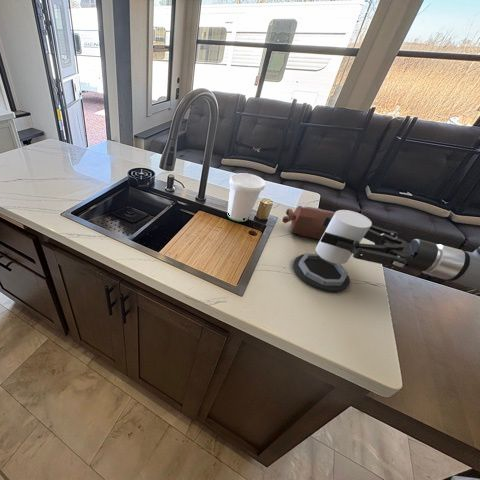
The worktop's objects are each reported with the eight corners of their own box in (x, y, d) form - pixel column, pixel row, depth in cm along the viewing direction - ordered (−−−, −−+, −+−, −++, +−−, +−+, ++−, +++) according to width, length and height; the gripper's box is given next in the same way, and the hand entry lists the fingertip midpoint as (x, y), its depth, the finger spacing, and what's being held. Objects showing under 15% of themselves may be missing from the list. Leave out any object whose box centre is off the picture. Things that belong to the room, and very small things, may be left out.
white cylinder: (354, 264, 68) (379, 228, 61) (324, 263, 68) (346, 226, 61) (337, 245, 75) (359, 210, 67) (310, 244, 75) (328, 209, 67)
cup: (216, 217, 99) (224, 181, 89) (229, 204, 107) (237, 170, 98) (247, 228, 93) (259, 191, 84) (258, 214, 102) (269, 179, 92)
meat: (335, 232, 94) (349, 208, 88) (341, 250, 86) (357, 226, 79) (278, 220, 99) (288, 196, 93) (278, 236, 91) (289, 212, 84)
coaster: (359, 293, 71) (364, 286, 69) (306, 292, 70) (310, 285, 69) (330, 257, 83) (334, 250, 81) (285, 256, 82) (288, 249, 80)
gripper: (428, 298, 56) (315, 260, 64) (409, 246, 70) (319, 221, 79) (454, 274, 51) (328, 237, 59) (428, 224, 66) (330, 200, 74)
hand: (323, 228), depth 69 cm, fingers closed on white cylinder, 8 cm apart
